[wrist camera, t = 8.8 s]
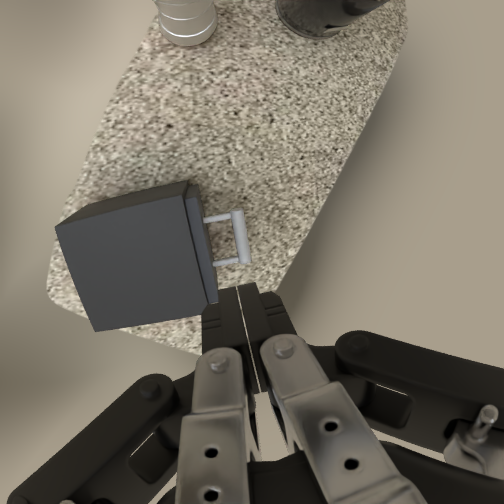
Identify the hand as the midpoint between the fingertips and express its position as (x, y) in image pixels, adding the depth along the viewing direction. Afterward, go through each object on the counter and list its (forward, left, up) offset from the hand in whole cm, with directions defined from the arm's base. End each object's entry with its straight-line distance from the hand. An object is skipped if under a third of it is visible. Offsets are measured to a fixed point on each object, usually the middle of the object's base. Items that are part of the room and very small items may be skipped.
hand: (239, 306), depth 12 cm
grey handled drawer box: (+10, -4, -27) cm, 29 cm away
